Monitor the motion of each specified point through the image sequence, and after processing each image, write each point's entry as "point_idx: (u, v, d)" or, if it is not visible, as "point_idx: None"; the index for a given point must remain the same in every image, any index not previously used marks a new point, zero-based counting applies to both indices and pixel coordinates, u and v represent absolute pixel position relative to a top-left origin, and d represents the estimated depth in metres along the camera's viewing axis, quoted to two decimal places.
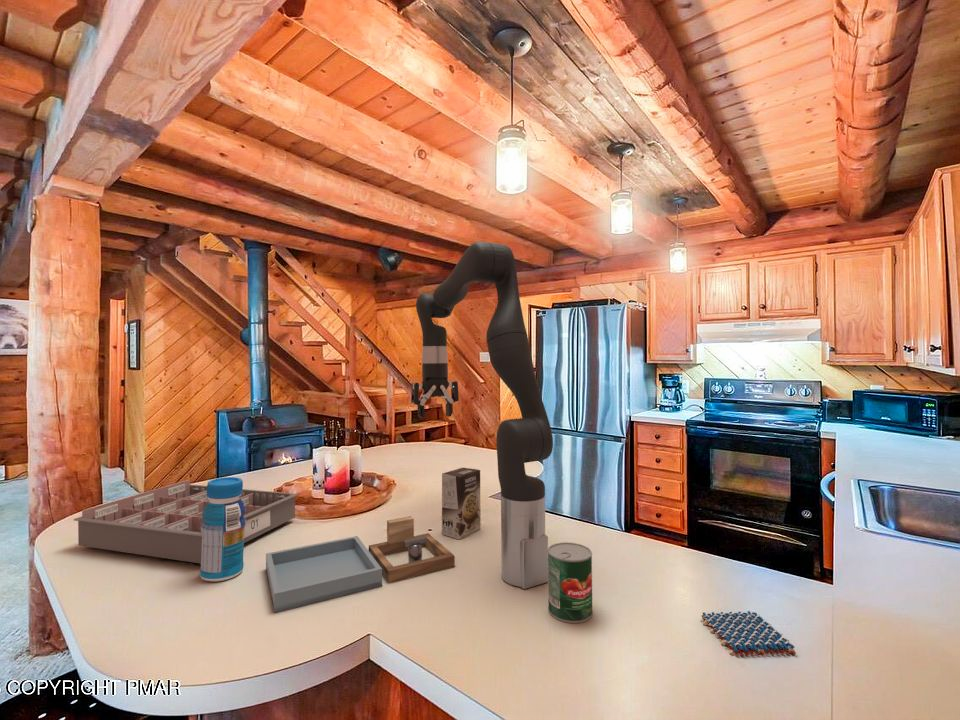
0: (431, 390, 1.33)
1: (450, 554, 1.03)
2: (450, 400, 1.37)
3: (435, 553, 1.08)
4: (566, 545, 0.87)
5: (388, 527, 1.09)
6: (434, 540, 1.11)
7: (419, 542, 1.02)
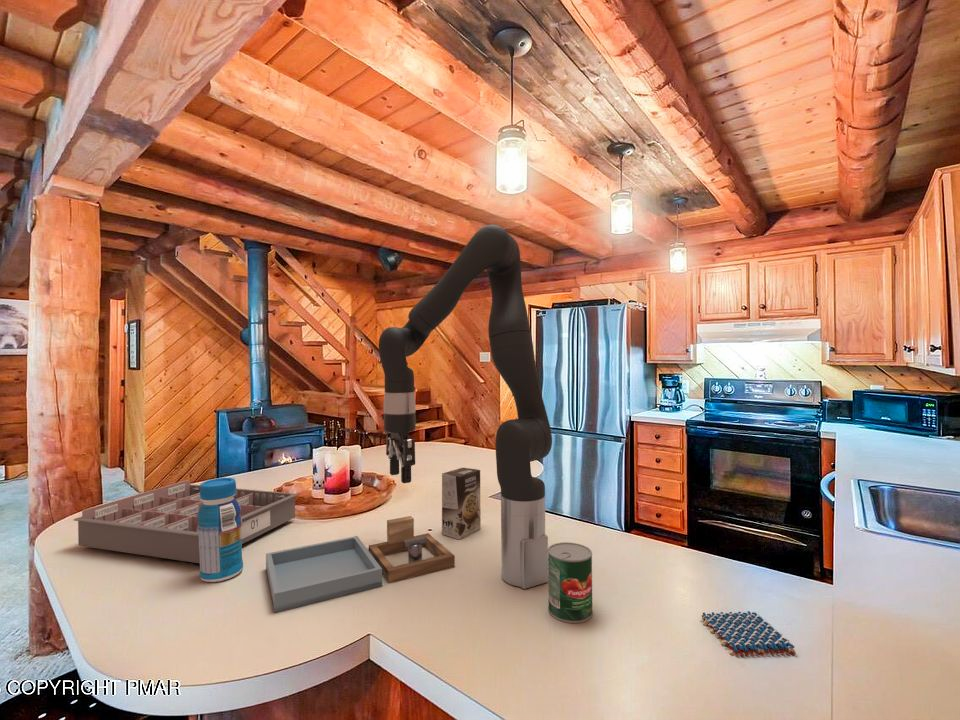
0: None
1: (450, 554, 1.03)
2: None
3: (435, 553, 1.08)
4: (566, 545, 0.87)
5: (388, 527, 1.09)
6: (434, 540, 1.11)
7: (419, 542, 1.02)
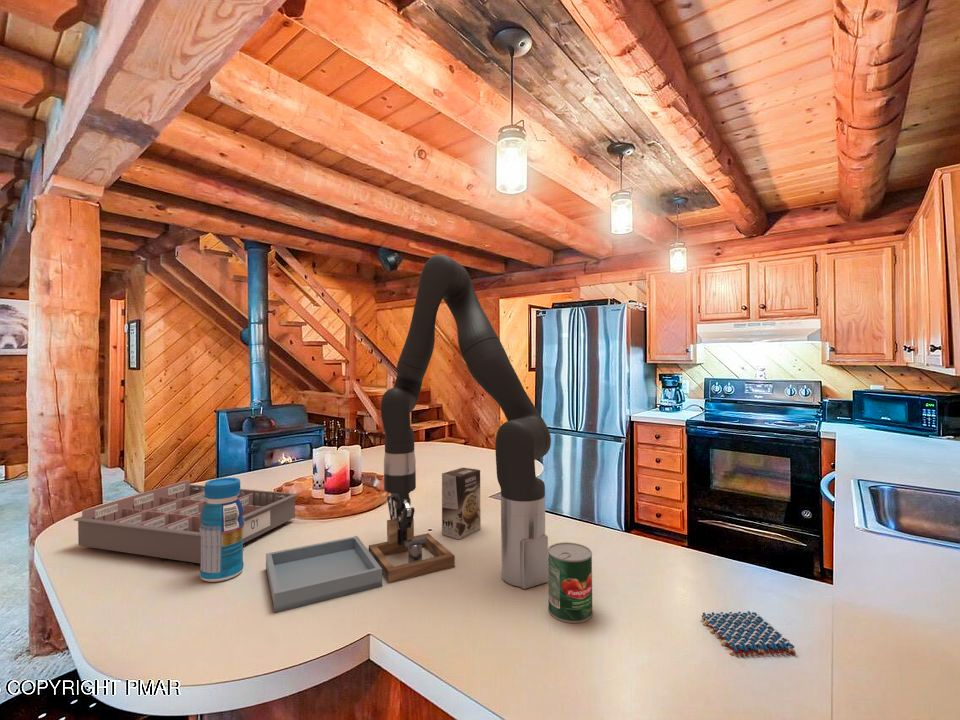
0: None
1: (450, 554, 1.03)
2: None
3: (435, 553, 1.08)
4: (566, 545, 0.87)
5: (388, 527, 1.09)
6: (434, 540, 1.11)
7: (419, 542, 1.02)
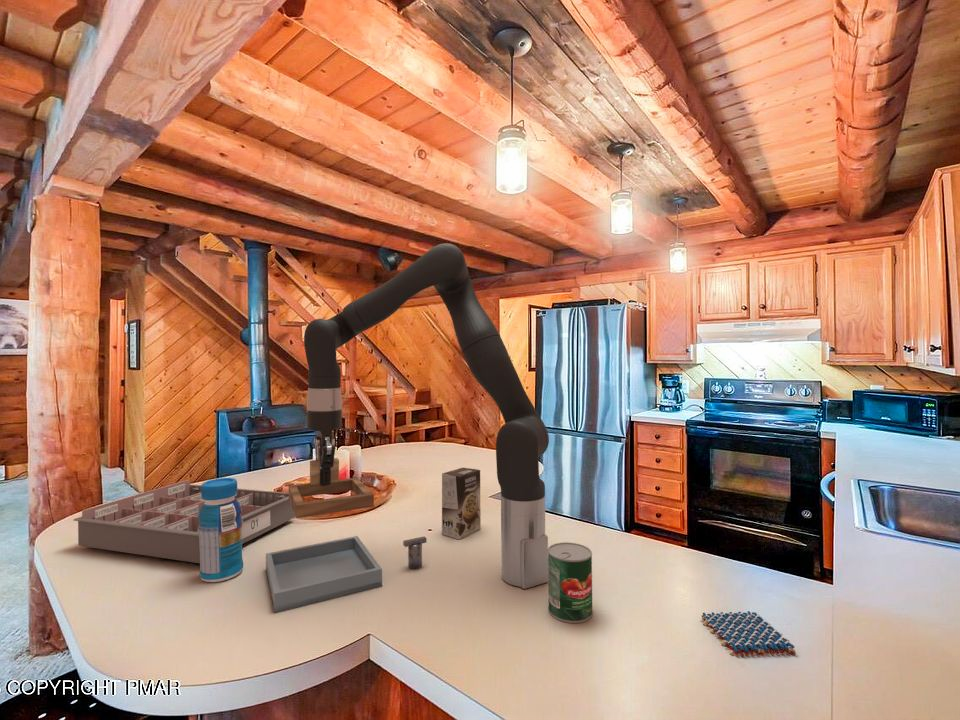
0: None
1: (369, 493, 0.97)
2: None
3: (358, 495, 1.02)
4: (566, 545, 0.87)
5: (310, 467, 1.04)
6: (359, 483, 1.05)
7: (419, 542, 1.02)
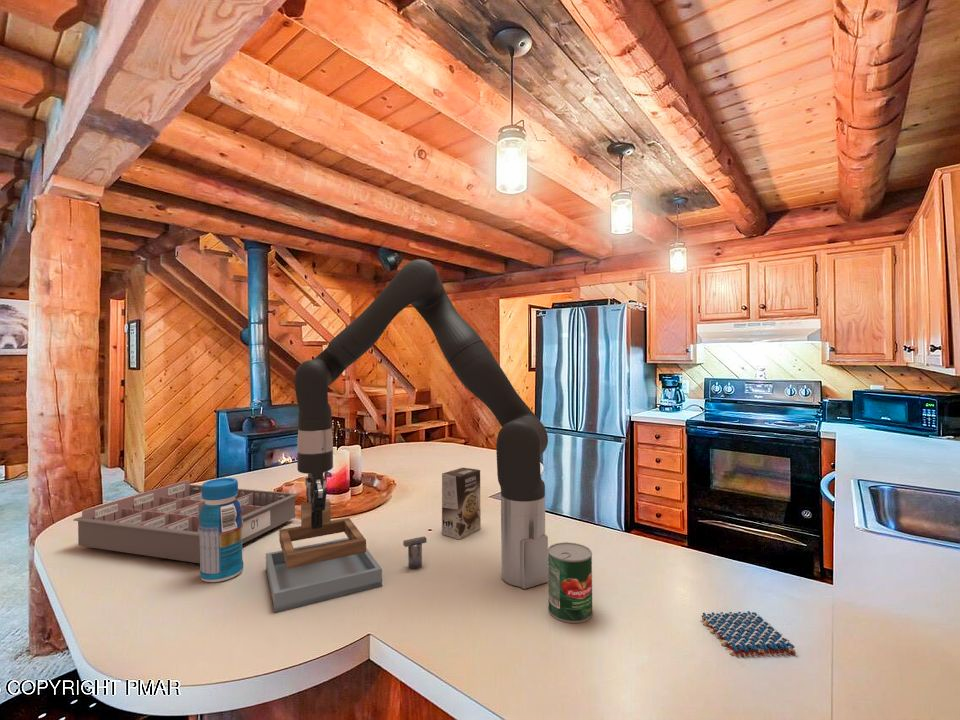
0: None
1: (362, 539, 0.95)
2: None
3: (350, 538, 1.00)
4: (566, 545, 0.87)
5: (301, 510, 1.02)
6: (352, 525, 1.03)
7: (419, 542, 1.02)
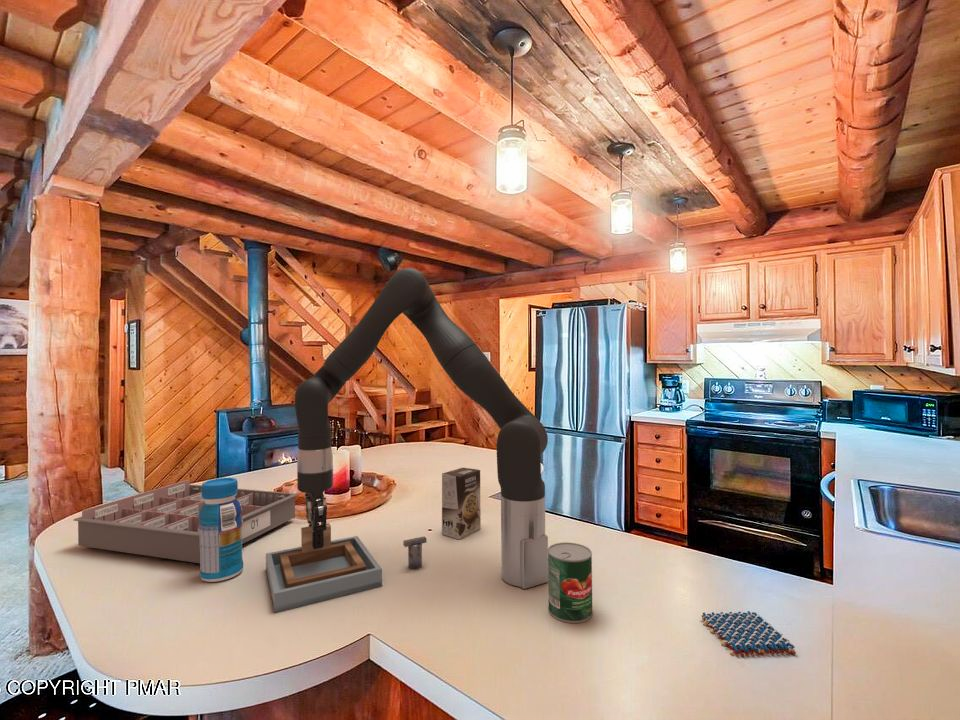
0: None
1: (362, 565, 0.96)
2: None
3: (351, 563, 1.01)
4: (566, 545, 0.87)
5: (302, 535, 1.02)
6: (352, 549, 1.04)
7: (419, 542, 1.02)
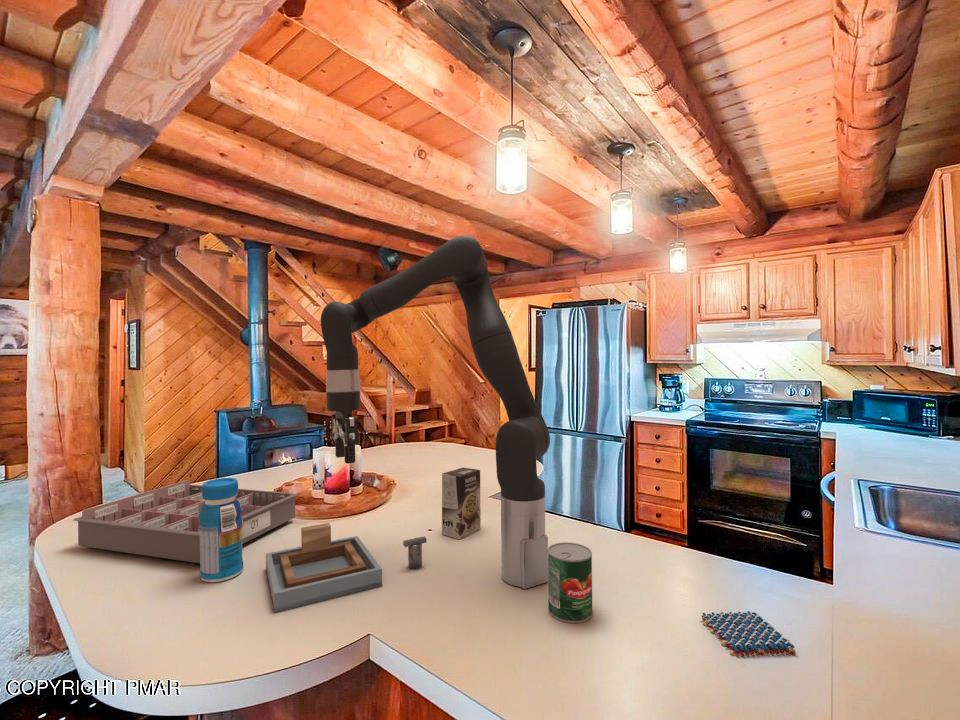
0: None
1: (362, 565, 0.96)
2: None
3: (351, 563, 1.01)
4: (566, 545, 0.87)
5: (302, 535, 1.02)
6: (352, 549, 1.04)
7: (419, 542, 1.02)
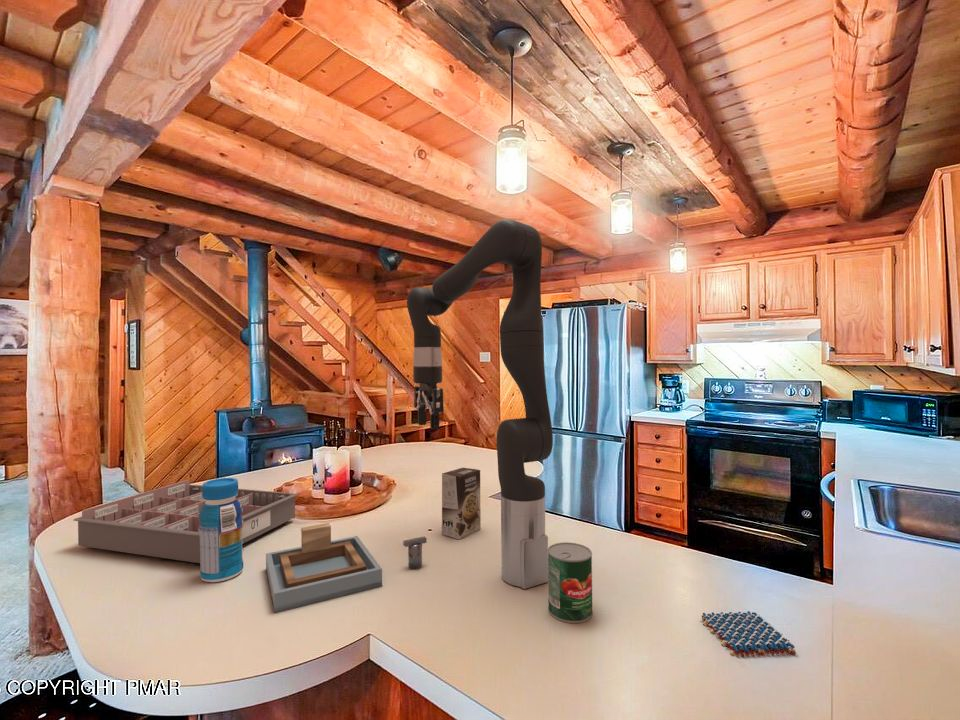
0: None
1: (362, 565, 0.96)
2: None
3: (351, 563, 1.01)
4: (566, 545, 0.87)
5: (302, 535, 1.02)
6: (352, 549, 1.04)
7: (419, 542, 1.02)
